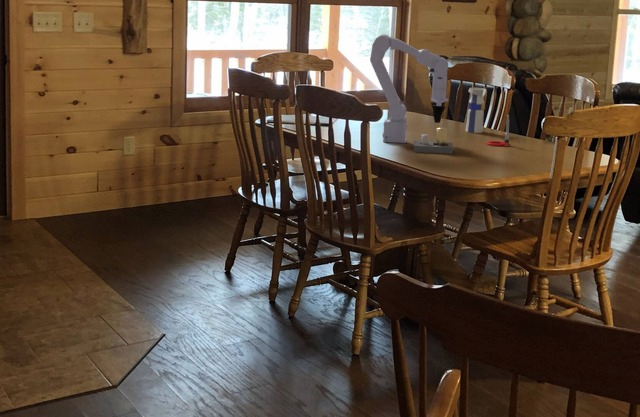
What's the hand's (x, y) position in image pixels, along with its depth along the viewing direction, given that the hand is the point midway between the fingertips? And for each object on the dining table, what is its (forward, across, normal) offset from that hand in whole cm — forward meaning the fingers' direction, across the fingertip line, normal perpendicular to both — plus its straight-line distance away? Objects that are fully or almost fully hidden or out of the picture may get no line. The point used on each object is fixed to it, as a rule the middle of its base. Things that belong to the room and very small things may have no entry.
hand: (436, 121), depth 356 cm
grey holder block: (+9, -15, +2) cm, 18 cm away
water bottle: (+10, +37, -19) cm, 43 cm away
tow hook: (+10, +6, -26) cm, 28 cm away
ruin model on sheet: (+10, +37, +18) cm, 42 cm away
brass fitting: (+9, -15, -2) cm, 18 cm away
